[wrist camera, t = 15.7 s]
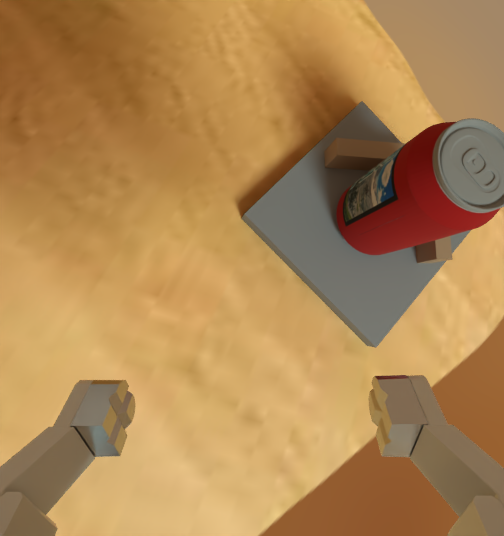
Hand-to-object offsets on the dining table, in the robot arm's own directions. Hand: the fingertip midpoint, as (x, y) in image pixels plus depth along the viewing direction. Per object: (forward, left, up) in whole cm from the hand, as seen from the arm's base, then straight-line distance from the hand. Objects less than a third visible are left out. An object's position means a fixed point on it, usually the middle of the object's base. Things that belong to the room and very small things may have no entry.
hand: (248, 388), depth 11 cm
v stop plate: (+13, +12, -17) cm, 24 cm away
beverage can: (+13, +12, -16) cm, 23 cm away
